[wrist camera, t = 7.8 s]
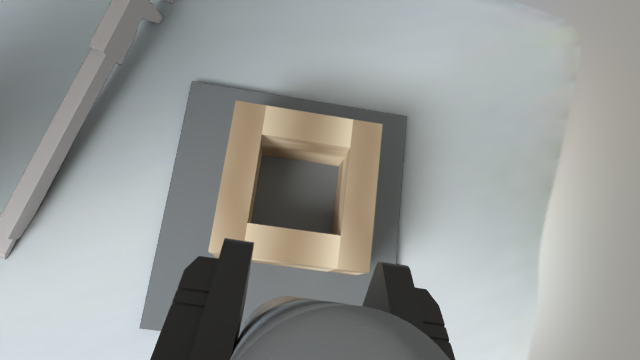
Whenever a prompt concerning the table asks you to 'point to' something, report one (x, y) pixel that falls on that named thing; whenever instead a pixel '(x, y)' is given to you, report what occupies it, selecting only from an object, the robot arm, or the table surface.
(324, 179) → the mat
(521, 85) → the table surface
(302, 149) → the wooden square frame
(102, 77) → the caliper
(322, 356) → the ball
